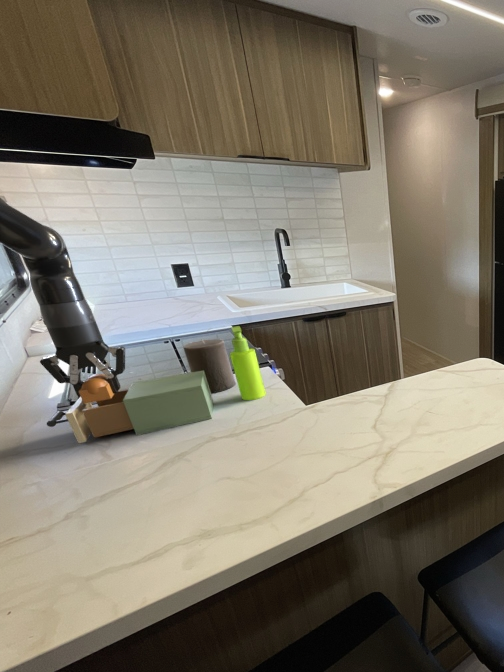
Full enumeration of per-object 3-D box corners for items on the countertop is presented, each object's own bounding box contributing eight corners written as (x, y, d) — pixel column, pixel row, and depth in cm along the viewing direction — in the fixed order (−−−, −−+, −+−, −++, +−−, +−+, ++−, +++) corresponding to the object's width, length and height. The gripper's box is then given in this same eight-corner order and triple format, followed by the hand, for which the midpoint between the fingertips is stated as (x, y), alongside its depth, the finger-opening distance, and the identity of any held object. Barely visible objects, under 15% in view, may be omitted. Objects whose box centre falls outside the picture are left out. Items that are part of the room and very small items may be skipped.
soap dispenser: (243, 403, 108) (223, 331, 101) (240, 395, 114) (221, 326, 106) (267, 397, 111) (250, 327, 104) (264, 390, 117) (247, 323, 110)
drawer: (51, 449, 86) (36, 419, 83) (68, 427, 95) (55, 400, 93) (156, 426, 95) (145, 398, 92) (162, 408, 104) (153, 383, 102)
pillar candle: (222, 393, 115) (207, 343, 110) (189, 394, 115) (172, 344, 110) (243, 381, 124) (230, 334, 119) (212, 381, 125) (198, 334, 119)
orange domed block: (83, 404, 88) (74, 383, 87) (92, 392, 94) (84, 373, 93) (111, 399, 91) (102, 379, 89) (118, 388, 97) (110, 369, 95)
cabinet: (136, 435, 93) (122, 400, 90) (145, 414, 103) (133, 382, 100) (211, 418, 100) (201, 385, 97) (213, 400, 110) (203, 370, 107)
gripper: (118, 314, 93) (143, 383, 99) (30, 323, 86) (63, 396, 92) (111, 320, 87) (138, 393, 93) (16, 330, 80) (52, 408, 86)
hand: (100, 394), depth 92 cm, fingers closed on orange domed block, 4 cm apart
